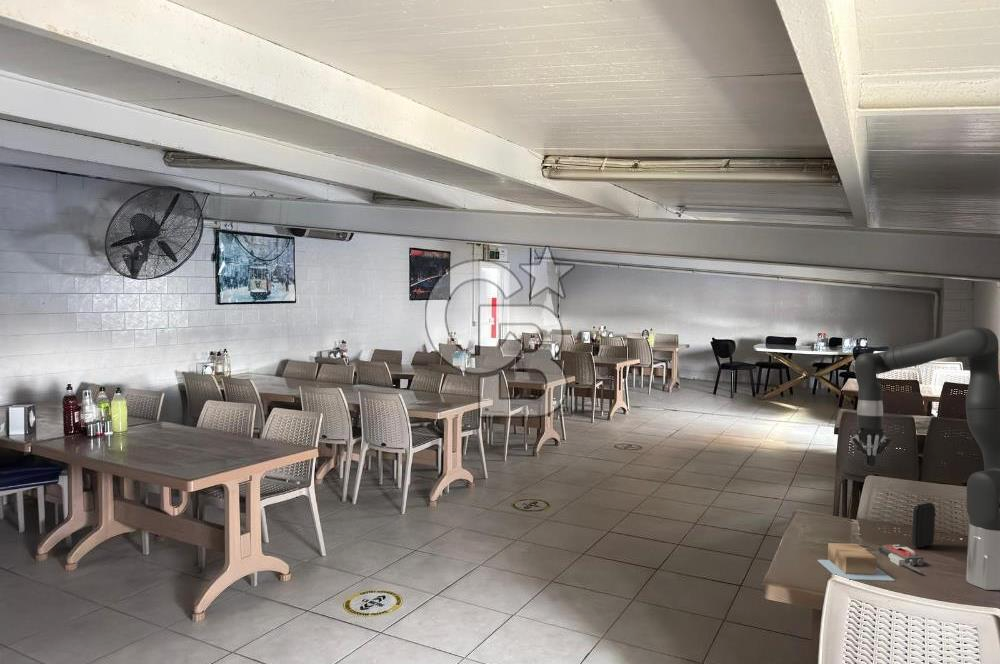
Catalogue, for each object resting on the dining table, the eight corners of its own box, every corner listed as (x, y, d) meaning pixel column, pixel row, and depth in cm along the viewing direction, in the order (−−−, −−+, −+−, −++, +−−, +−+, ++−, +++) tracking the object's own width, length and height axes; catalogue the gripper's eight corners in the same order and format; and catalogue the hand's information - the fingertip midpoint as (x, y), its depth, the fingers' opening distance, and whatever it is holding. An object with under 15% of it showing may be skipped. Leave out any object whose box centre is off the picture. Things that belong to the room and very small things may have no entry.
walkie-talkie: (871, 553, 230) (918, 577, 210) (872, 540, 230) (918, 562, 210) (895, 552, 232) (943, 575, 212) (896, 538, 231) (944, 561, 212)
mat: (894, 581, 206) (894, 580, 206) (839, 579, 206) (839, 578, 206) (869, 562, 221) (869, 561, 221) (817, 560, 221) (817, 559, 221)
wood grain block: (856, 559, 222) (876, 574, 210) (827, 559, 222) (845, 573, 210) (857, 543, 221) (876, 557, 209) (828, 543, 222) (846, 557, 210)
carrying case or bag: (928, 543, 240) (930, 500, 239) (937, 545, 237) (939, 502, 237) (909, 547, 235) (911, 504, 234) (918, 550, 232) (920, 506, 232)
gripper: (855, 414, 229) (855, 468, 228) (896, 415, 228) (896, 468, 228) (844, 412, 236) (844, 464, 236) (884, 412, 236) (884, 464, 236)
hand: (869, 466), depth 232 cm, fingers closed
